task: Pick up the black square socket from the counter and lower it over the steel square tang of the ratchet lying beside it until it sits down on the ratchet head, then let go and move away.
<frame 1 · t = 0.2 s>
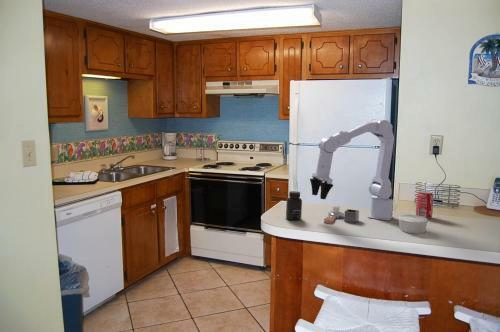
hand: (318, 197, 180), 10 cm above the worktop, tool pointing down, fingers open, 7 cm apart
ramekin: (411, 231, 169), on the worktop
soda can: (423, 217, 190), on the worktop
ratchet: (336, 216, 188), on the worktop
supplement bottle: (293, 219, 183), on the worktop
socket: (351, 221, 181), on the worktop
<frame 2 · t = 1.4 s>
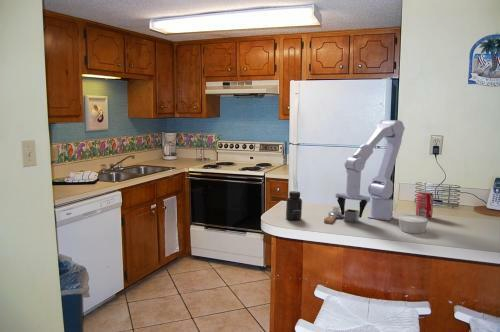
hand: (351, 215, 181), 2 cm above the worktop, tool pointing down, fingers open, 7 cm apart
nothing on the worktop moved.
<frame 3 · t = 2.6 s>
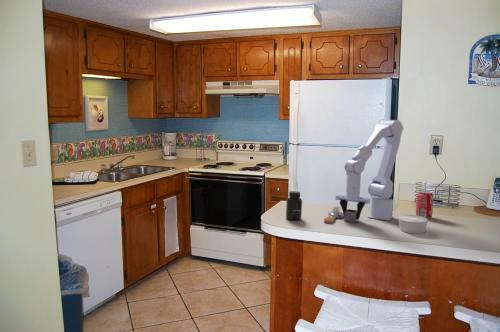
hand: (351, 217, 181), 1 cm above the worktop, tool pointing down, fingers closed on socket, 5 cm apart
socket: (351, 221, 181), on the worktop, touching gripper
everything else where it was.
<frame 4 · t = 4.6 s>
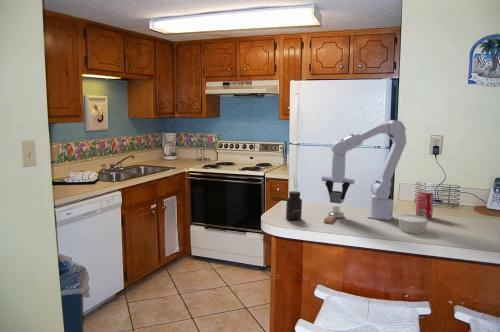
hand: (337, 198, 187), 8 cm above the worktop, tool pointing down, fingers closed on socket, 5 cm apart
socket: (336, 201, 187), point 7 cm above the worktop, touching gripper
everything else where it was.
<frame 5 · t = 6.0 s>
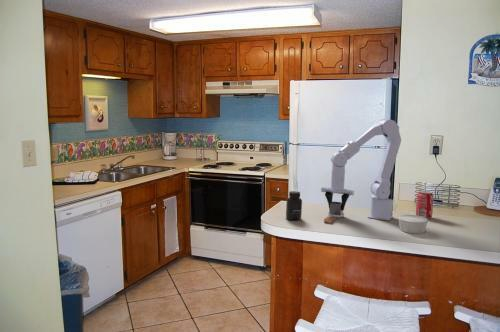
hand: (336, 209, 188), 3 cm above the worktop, tool pointing down, fingers closed on socket, 5 cm apart
socket: (336, 212, 188), point 2 cm above the worktop, touching gripper
everything else where it was.
when the fingers open (3 cm above the worktop, at t = 6.9 s): socket stays where it is, resting on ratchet.
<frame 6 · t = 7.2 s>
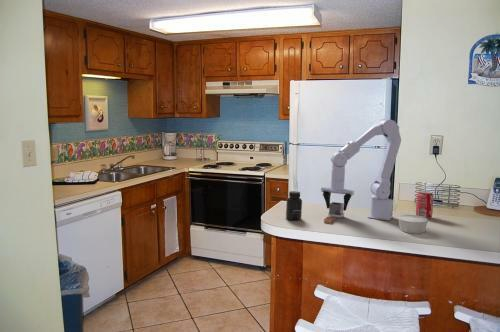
hand: (336, 209, 188), 3 cm above the worktop, tool pointing down, fingers open, 7 cm apart
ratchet: (336, 216, 188), on the worktop, touching socket
socket: (336, 213, 188), point 1 cm above the worktop, touching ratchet
everything else where it was.
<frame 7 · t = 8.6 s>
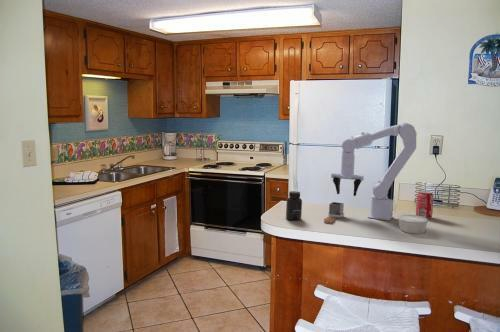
hand: (346, 194, 191), 9 cm above the worktop, tool pointing down, fingers open, 7 cm apart
nothing on the worktop moved.
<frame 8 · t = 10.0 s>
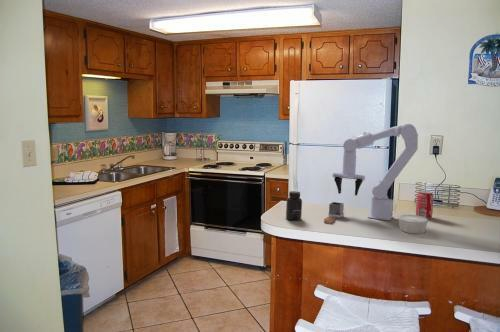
hand: (347, 194, 192), 9 cm above the worktop, tool pointing down, fingers open, 7 cm apart
nothing on the worktop moved.
at the end: socket 0.1 cm off-centre on the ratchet, point 1.5 cm above the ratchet's base; the gripper is holding nothing; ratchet moved 0.0 cm from its start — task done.
